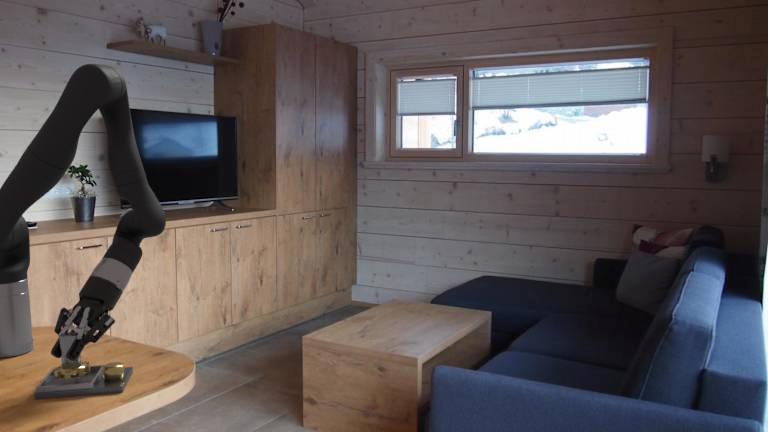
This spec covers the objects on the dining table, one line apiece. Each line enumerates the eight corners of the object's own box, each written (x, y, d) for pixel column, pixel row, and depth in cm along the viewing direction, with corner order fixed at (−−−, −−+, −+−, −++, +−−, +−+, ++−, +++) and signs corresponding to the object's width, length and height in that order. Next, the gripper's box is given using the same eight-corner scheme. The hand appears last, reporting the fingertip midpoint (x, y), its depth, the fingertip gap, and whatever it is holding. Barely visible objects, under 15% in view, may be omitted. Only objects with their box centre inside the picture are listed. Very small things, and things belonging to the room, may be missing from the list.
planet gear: (49, 380, 128) (46, 341, 127) (59, 368, 135) (56, 331, 133) (85, 377, 129) (82, 338, 128) (94, 365, 136) (91, 328, 135)
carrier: (35, 399, 126) (33, 380, 125) (52, 378, 137) (51, 361, 136) (122, 392, 129) (121, 374, 128) (133, 372, 140) (131, 355, 139)
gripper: (71, 272, 139) (24, 344, 130) (120, 277, 133) (75, 353, 124) (93, 290, 144) (49, 361, 135) (141, 296, 139) (100, 370, 129)
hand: (62, 357), depth 130 cm, fingers closed on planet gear, 3 cm apart
